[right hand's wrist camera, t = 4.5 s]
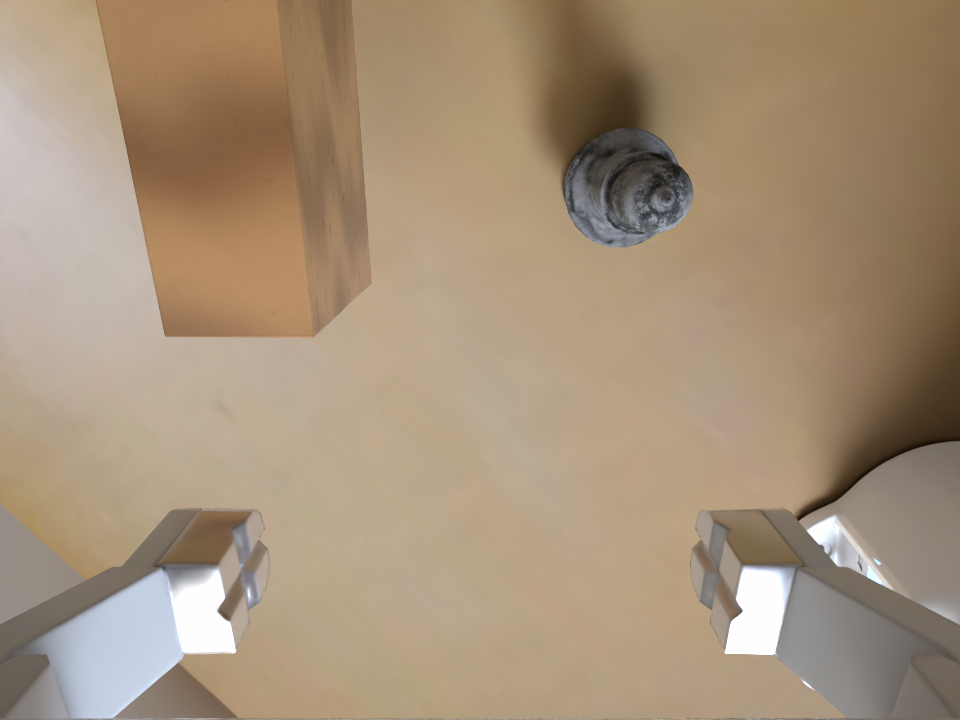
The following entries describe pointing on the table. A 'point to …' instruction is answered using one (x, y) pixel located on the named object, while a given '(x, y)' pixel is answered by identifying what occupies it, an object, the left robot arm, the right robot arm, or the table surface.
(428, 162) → the table surface
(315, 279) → the bar
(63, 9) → the table surface
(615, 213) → the grey chess piece
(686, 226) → the table surface
